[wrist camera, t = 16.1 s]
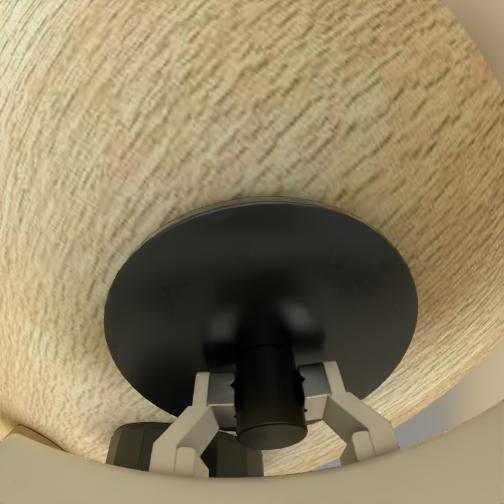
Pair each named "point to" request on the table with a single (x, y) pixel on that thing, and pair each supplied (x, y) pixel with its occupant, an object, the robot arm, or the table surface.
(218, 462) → the bin
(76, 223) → the table surface
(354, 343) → the bin lid
